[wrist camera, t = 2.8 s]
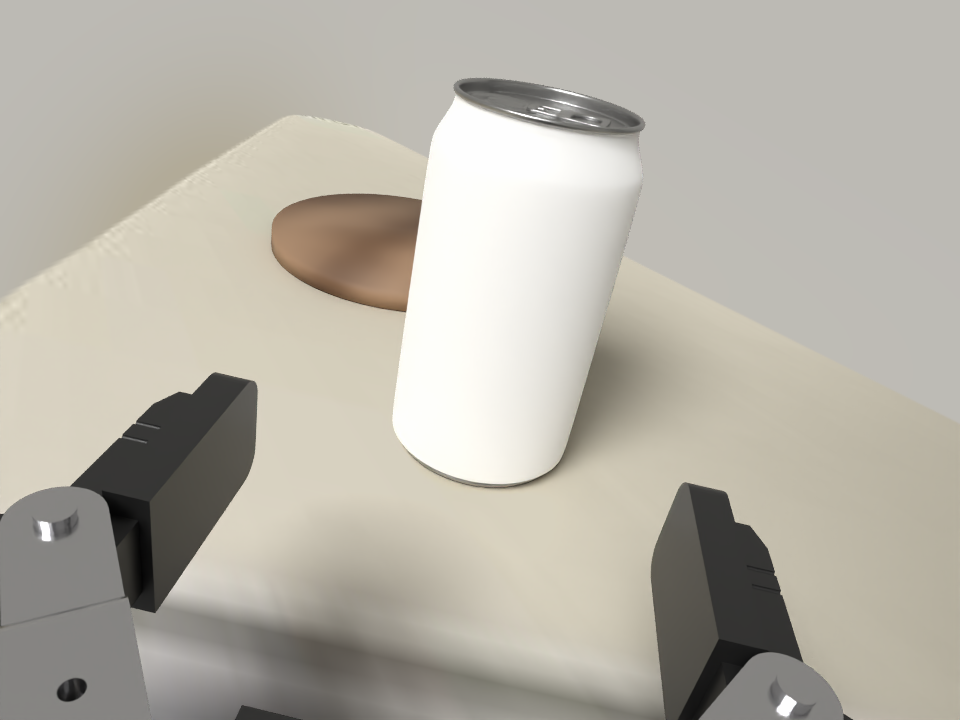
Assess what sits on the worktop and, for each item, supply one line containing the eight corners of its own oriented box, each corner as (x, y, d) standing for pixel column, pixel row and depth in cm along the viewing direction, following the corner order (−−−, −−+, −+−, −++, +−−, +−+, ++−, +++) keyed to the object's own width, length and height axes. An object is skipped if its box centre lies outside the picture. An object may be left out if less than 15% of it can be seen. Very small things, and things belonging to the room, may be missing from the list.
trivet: (549, 250, 45) (553, 235, 45) (482, 342, 33) (486, 322, 33) (345, 193, 48) (347, 178, 47) (215, 259, 36) (215, 239, 35)
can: (425, 371, 30) (475, 66, 24) (576, 417, 29) (667, 111, 23) (360, 456, 24) (404, 88, 19) (543, 518, 23) (652, 148, 18)
